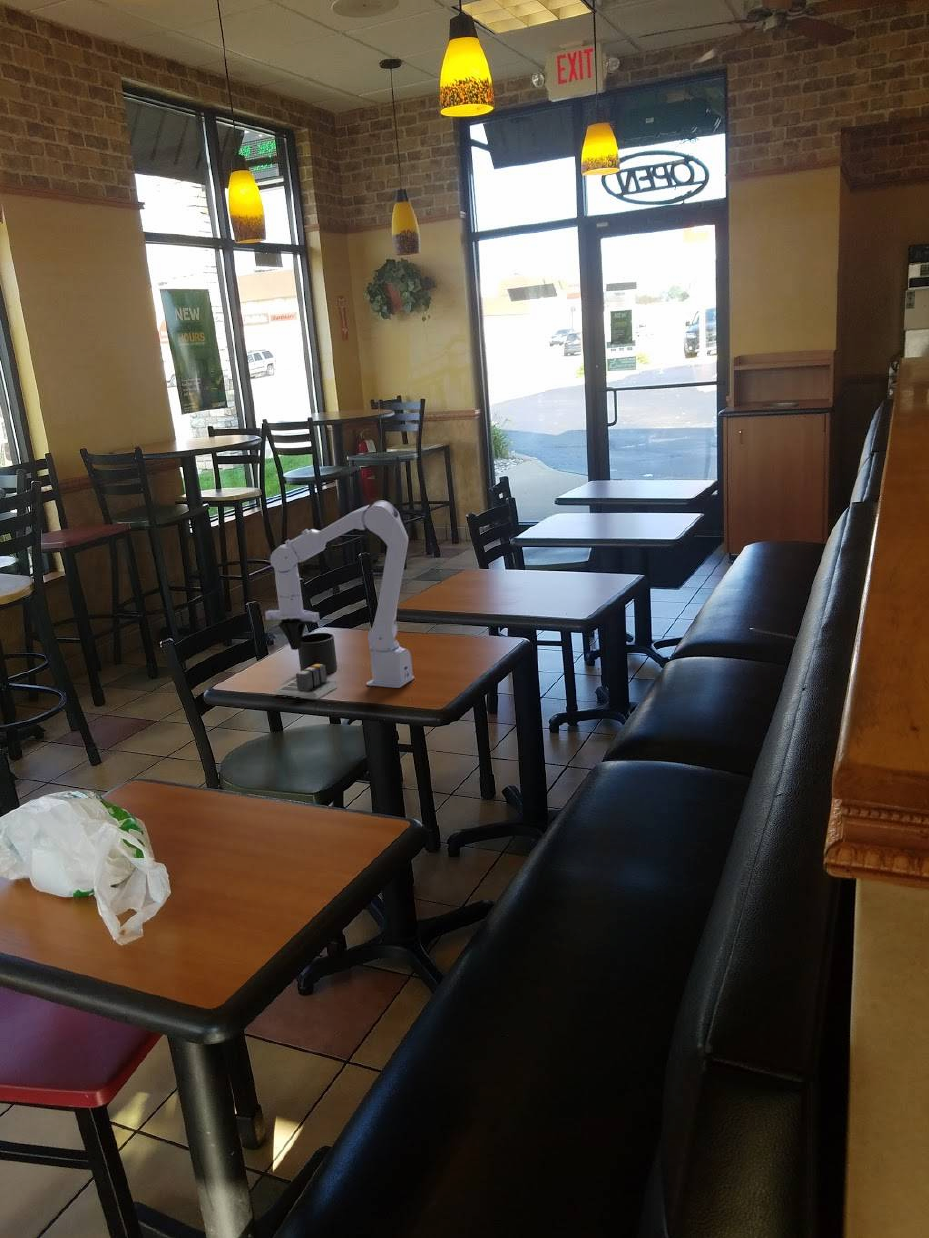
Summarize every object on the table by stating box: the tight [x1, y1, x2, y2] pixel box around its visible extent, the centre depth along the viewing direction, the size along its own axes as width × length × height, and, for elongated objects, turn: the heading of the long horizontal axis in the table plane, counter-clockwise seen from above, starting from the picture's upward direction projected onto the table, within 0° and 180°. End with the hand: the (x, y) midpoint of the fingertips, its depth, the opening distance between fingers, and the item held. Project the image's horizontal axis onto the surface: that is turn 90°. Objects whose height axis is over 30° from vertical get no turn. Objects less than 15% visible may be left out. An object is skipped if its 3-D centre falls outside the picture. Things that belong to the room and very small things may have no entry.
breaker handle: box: [311, 664, 328, 683], centre depth 233 cm, size 3×2×4 cm
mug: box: [297, 632, 338, 676], centre depth 249 cm, size 9×12×9 cm
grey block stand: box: [274, 667, 338, 700], centre depth 232 cm, size 12×9×6 cm
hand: (296, 648), depth 234 cm, fingers closed
